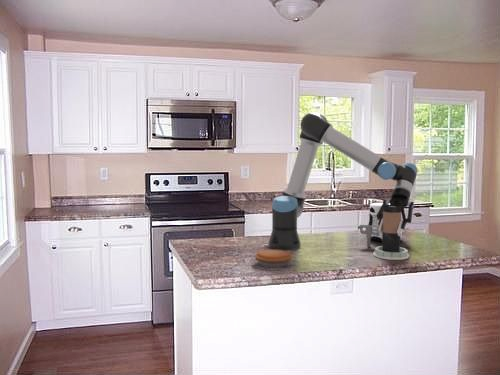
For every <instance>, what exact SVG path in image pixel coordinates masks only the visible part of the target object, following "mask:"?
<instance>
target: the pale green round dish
mask: <svg viewBox="0 0 500 375" xmlns="http://www.w3.org/2000/svg"><path fill="white" fill-rule="evenodd" d="M372 255H373V257H375V258H379V259H382V260H392V261H402V260H407V259H409V258H410V254H409V251H408V249H406V248H405V247H401V246H400V251H399V252H385V251H383V250H382V245H379V246H376V247H375V248H374V251H373V253H372Z"/></svg>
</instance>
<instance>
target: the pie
mask: <svg viewBox="0 0 500 375" xmlns="http://www.w3.org/2000/svg"><path fill="white" fill-rule="evenodd" d="M293 256H294V255H293V253H291V252H288V250H279V249H264V250H260V251H258V252H257V253H255V254H254V257H255V259H257V261H258V263H259V265H260V266H263V267H266V268H283V267H286V266H287V265H288V264H289V263H290V261H291V259H292V258H293Z"/></svg>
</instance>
